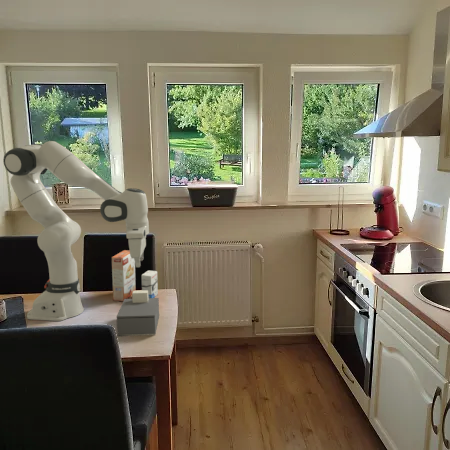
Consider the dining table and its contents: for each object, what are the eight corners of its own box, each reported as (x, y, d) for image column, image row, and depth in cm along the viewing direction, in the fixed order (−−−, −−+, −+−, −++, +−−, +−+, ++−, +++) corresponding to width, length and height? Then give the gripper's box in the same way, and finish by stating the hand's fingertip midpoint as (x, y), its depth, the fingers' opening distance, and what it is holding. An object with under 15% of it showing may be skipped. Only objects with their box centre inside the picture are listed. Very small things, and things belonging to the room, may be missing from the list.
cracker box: (125, 301, 190) (123, 257, 186) (112, 300, 191) (110, 257, 187) (136, 291, 203) (135, 250, 199) (125, 290, 204) (123, 249, 200)
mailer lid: (116, 317, 154) (116, 306, 153) (124, 300, 171) (124, 289, 170) (154, 316, 155) (154, 305, 154) (158, 299, 172) (158, 288, 172)
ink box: (151, 300, 191) (151, 276, 189) (141, 299, 192) (140, 275, 190) (158, 294, 199) (157, 270, 197) (148, 293, 200) (147, 270, 198)
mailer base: (117, 336, 155) (116, 318, 154) (125, 316, 173) (124, 301, 171) (155, 334, 156) (154, 317, 155) (159, 315, 174) (158, 300, 172)
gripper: (133, 225, 173) (135, 256, 176) (125, 235, 153) (127, 271, 156) (148, 224, 174) (150, 256, 176) (142, 234, 154) (144, 270, 156)
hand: (139, 263), depth 166 cm, fingers open, 8 cm apart
